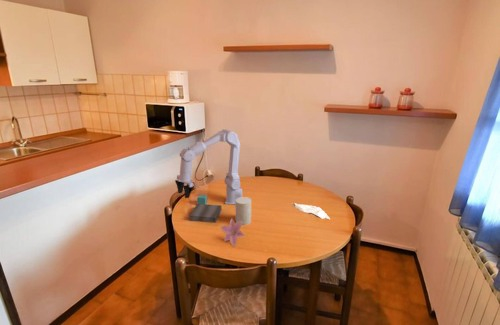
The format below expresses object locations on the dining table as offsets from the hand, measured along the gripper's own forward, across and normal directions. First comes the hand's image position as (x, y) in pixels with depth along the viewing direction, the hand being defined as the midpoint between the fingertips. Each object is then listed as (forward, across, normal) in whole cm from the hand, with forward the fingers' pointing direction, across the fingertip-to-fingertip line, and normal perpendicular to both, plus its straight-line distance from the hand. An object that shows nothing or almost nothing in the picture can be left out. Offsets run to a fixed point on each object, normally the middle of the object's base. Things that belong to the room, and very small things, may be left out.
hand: (183, 195), depth 150 cm
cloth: (+2, +43, +58) cm, 73 cm away
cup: (+7, +28, +21) cm, 36 cm away
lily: (+9, +39, +6) cm, 40 cm away
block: (+9, -3, +15) cm, 17 cm away
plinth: (+9, +10, +9) cm, 16 cm away
